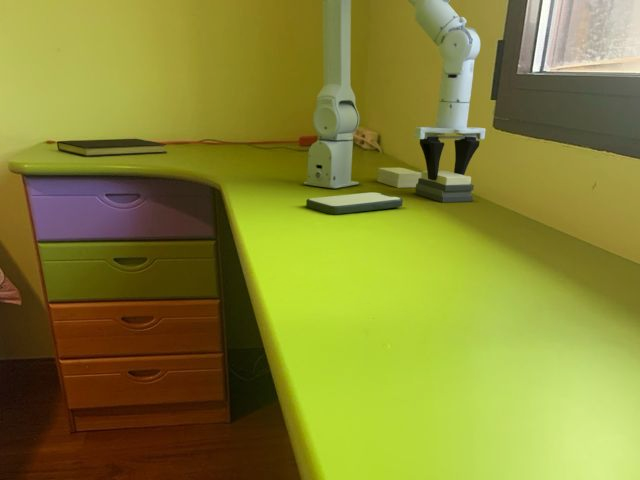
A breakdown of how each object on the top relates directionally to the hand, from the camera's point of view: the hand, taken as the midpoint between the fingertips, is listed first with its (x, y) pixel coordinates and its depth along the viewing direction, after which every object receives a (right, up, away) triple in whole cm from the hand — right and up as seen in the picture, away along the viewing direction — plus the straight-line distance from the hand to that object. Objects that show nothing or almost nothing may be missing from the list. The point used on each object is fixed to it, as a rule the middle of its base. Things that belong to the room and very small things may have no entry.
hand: (445, 179), depth 134 cm
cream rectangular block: (-7, +5, +16) cm, 18 cm away
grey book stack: (0, -3, +2) cm, 3 cm away
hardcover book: (-80, +25, +50) cm, 97 cm away
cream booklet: (0, 0, 0) cm, 0 cm away
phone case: (-18, -10, -12) cm, 24 cm away
